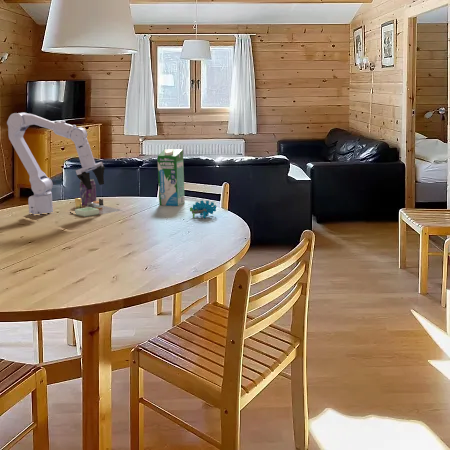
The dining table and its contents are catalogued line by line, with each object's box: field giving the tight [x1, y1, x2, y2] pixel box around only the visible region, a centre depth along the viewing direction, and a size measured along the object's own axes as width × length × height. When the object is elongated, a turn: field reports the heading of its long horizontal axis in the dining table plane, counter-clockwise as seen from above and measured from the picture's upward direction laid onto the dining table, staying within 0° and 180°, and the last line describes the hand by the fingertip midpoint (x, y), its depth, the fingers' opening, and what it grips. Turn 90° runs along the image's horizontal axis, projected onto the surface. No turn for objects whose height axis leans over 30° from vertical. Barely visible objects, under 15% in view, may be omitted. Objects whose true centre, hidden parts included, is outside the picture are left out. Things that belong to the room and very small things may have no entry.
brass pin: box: [74, 197, 83, 210], centre depth 264 cm, size 3×3×6 cm
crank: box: [87, 198, 105, 208], centre depth 262 cm, size 10×3×4 cm, turn 45°
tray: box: [74, 207, 99, 218], centre depth 257 cm, size 7×7×2 cm
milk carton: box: [157, 148, 186, 207], centre depth 279 cm, size 9×9×25 cm
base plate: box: [85, 200, 123, 218], centre depth 265 cm, size 19×17×4 cm
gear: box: [189, 199, 217, 219], centre depth 251 cm, size 11×6×10 cm
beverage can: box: [79, 178, 97, 207], centre depth 280 cm, size 7×7×12 cm
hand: (95, 186), depth 259 cm, fingers open, 7 cm apart
